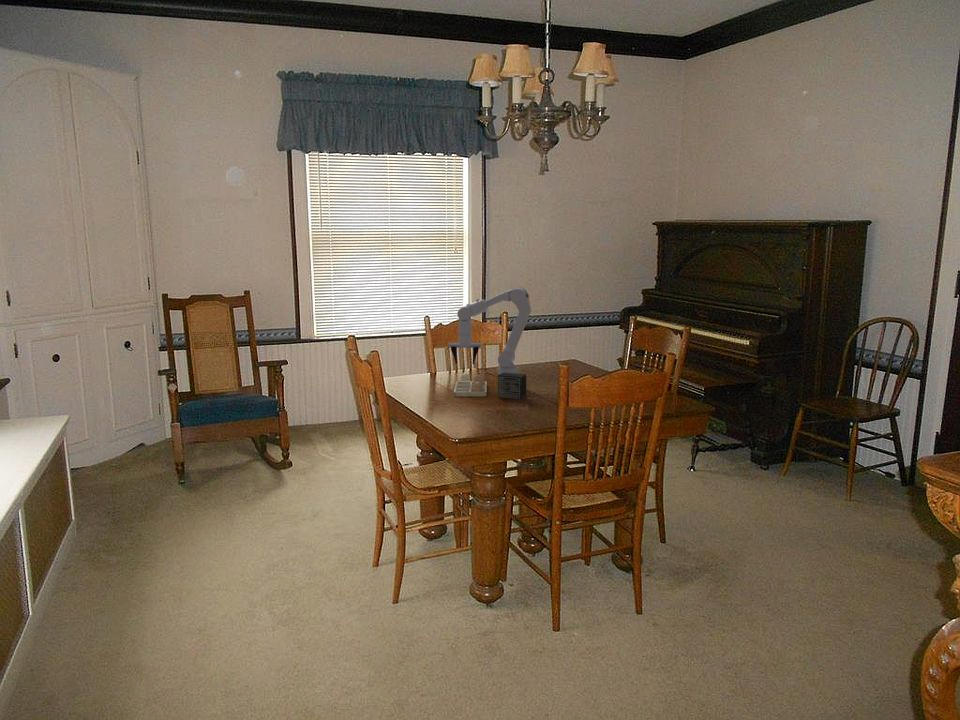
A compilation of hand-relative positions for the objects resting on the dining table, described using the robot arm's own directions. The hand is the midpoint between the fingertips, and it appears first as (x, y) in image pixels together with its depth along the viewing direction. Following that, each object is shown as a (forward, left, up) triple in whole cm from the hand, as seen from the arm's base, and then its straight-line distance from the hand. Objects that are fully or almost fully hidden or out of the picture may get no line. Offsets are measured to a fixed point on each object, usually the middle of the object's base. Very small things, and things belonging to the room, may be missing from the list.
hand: (464, 363), depth 321 cm
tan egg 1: (-6, +10, -9) cm, 14 cm away
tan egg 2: (-6, +22, -9) cm, 25 cm away
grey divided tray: (-3, +16, -10) cm, 19 cm away
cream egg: (0, 0, -10) cm, 10 cm away
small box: (-21, +27, -10) cm, 35 cm away
